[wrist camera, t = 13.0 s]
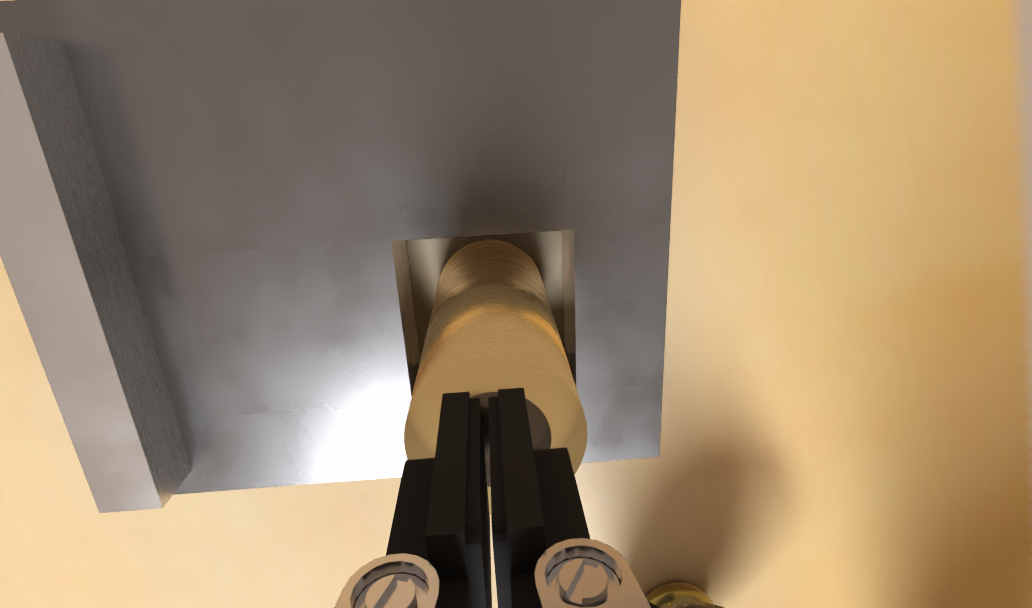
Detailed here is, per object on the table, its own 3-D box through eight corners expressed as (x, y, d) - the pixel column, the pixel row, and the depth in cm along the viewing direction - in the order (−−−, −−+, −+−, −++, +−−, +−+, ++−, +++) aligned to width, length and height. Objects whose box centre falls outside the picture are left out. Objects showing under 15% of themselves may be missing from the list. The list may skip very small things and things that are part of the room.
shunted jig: (638, 414, 24) (676, 492, 19) (159, 450, 23) (77, 539, 18) (651, -11, 18) (709, -48, 14) (20, 19, 18) (-148, -9, 13)
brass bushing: (544, 334, 22) (588, 508, 13) (443, 341, 22) (414, 522, 13) (540, 236, 21) (587, 352, 12) (433, 242, 21) (392, 364, 11)
